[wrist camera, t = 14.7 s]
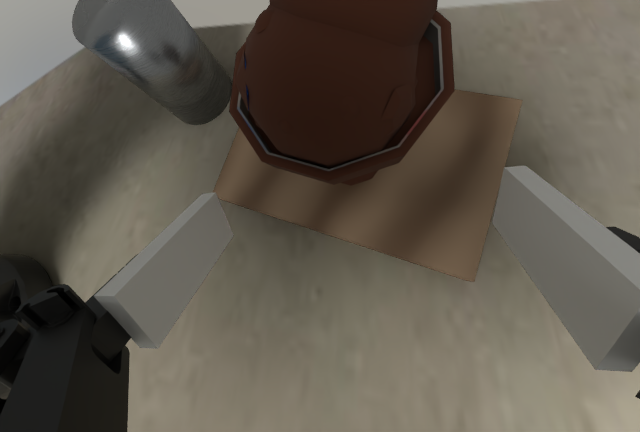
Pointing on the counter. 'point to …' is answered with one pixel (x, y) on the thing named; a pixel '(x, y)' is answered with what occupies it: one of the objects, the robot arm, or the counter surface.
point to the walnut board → (398, 189)
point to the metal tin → (156, 54)
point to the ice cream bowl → (341, 84)
